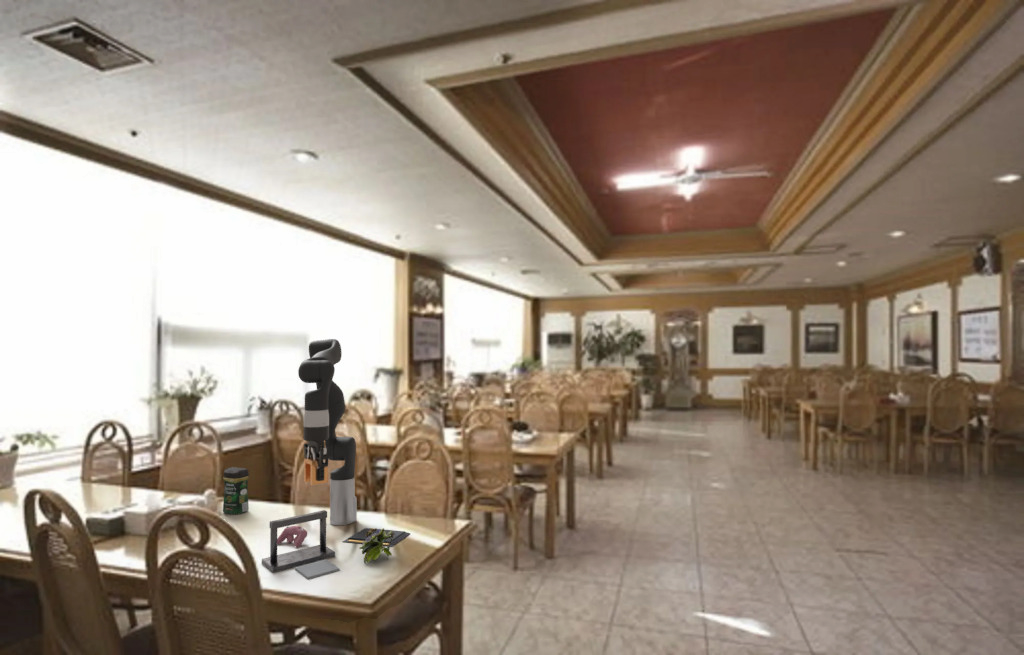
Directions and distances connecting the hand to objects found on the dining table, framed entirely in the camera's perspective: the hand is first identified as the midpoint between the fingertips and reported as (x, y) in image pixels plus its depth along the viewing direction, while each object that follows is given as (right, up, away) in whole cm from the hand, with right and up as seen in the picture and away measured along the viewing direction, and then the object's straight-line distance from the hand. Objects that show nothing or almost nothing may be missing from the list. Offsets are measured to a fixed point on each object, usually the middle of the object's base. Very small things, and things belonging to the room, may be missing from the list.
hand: (316, 478), depth 177 cm
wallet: (+12, -30, +28) cm, 43 cm away
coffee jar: (-55, -31, +61) cm, 87 cm away
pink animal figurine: (-16, -29, +23) cm, 40 cm away
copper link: (0, -1, 0) cm, 1 cm away
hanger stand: (-8, -28, +7) cm, 30 cm away
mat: (+1, -28, -1) cm, 28 cm away
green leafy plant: (+17, -28, +9) cm, 34 cm away
